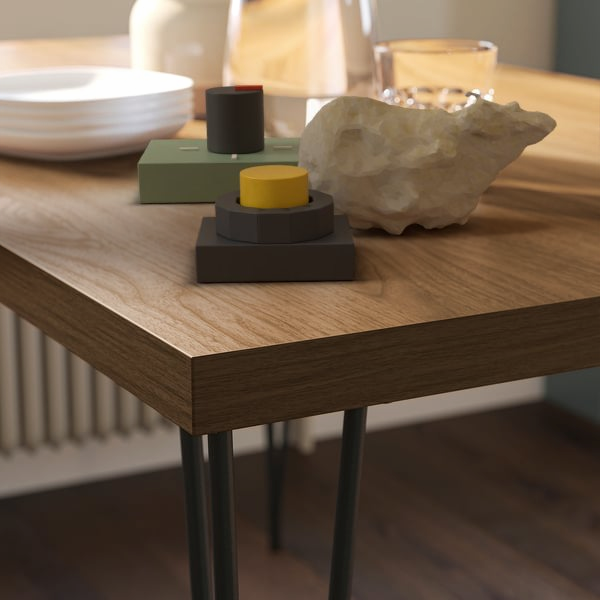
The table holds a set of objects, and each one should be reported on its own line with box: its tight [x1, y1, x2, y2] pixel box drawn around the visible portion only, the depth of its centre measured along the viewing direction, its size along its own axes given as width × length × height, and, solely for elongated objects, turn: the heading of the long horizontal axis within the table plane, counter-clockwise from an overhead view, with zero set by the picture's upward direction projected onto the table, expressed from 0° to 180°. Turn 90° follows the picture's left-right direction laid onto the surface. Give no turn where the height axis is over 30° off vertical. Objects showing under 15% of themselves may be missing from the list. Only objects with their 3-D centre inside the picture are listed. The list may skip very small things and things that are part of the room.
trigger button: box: [240, 165, 309, 209], centre depth 69 cm, size 4×4×2 cm
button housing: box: [194, 189, 356, 283], centre depth 70 cm, size 9×7×4 cm
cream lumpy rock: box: [298, 91, 558, 236], centre depth 78 cm, size 15×7×15 cm
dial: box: [204, 84, 265, 154], centre depth 90 cm, size 4×4×5 cm
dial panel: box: [137, 137, 301, 204], centre depth 91 cm, size 14×10×3 cm
